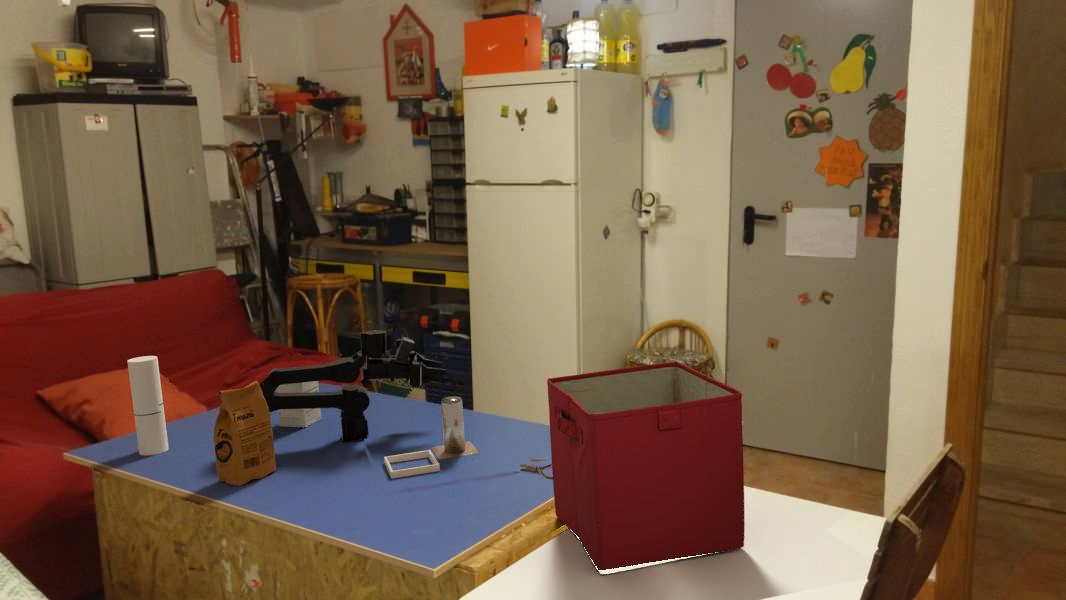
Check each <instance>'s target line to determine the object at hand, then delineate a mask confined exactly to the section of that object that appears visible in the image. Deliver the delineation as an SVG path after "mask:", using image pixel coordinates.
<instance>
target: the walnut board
mask: <svg viewBox="0 0 1066 600" xmlns="http://www.w3.org/2000/svg"><path fill="white" fill-rule="evenodd" d="M430 447H431V450H432V451H433V453H434V454H435V455H436V457H437V459H438V460H446V459H452V458H458V457H465V456H471V455H479V454H480V452H479V451H478V449H477V448H476V447H475V445H474V444H473V443H472V442H471V441H470V440H469V441H465V451H463V452H461V453H456V454H449V453H446V452H445V451H444V444H443V445H436V446H430Z"/></svg>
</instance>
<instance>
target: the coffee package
mask: <svg viewBox="0 0 1066 600" xmlns="http://www.w3.org/2000/svg"><path fill="white" fill-rule="evenodd" d="M259 384H260V382H259V381H258V380H254V381H253V382H251V383H249V384H247V386H244V387H243V388H236V389H235V388H234V389H226V390H219V391H218V397H220V400H221V402H220V405H219V409H218V414H217V417H216V419H215V423H214V427H213V443H214V455H215V465H216V476H217V477H218V480H220V481H221V482H225V483H226V484H230V485H232V486H239V487H240V486H242V485H244V484H247V483H249V482H251V481H252V480H259V479H260V480H261V479H262V478H265V477H267V476H268V475H270V474H271V473H273V472H276V470H277V468H276V467H277V463H276V455H275V444H274V442H275V441H274V433H273V427H272V425H273V424H272V419H271V412H269V408H268V405H267V403H266V400H265V398H264V396H263V393H262V390H261V388H260V386H259Z"/></svg>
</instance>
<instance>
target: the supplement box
mask: <svg viewBox="0 0 1066 600" xmlns="http://www.w3.org/2000/svg"><path fill="white" fill-rule="evenodd" d="M319 390H320V385H319V381H313V382H303V383H293V384H283V385H279V387H278V388H277V389H276V390H275V392H278V393H303V392H320V391H319ZM321 410H322V408H313V409H280V410H277V416H278V417H277V418H278V427H284V428H286V427H287V428H300V427H302V428H303V429H304V427H306V428H307V427H309V425H310V426H311V425H313V424H315V423H317V422H318V421H321V420H322V411H321Z"/></svg>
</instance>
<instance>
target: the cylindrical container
mask: <svg viewBox="0 0 1066 600" xmlns="http://www.w3.org/2000/svg"><path fill="white" fill-rule="evenodd" d="M158 358H159V357H158V356H156V355H146V356H145V355H143V356H137V357H133V358H130V359H127V369H128V376H129V385H130V391H131V393H130V394H131V399H132V407H133V416H134V421H135V422H134V425H135V431H136V438H137V439H136V440H137V447H138V453H139V455H140V456H155V455H159V454H162V453H163V454H164V453H165V452H167V451H168V450H169V449H170V448H169V439H168V434H167V425H166V424H167V423H166V416H165V407H164V401H163V392H162V391H163V390H162V385H161V383H162V382H161V377H160V376H161V375H160V367H159V359H158Z"/></svg>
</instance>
